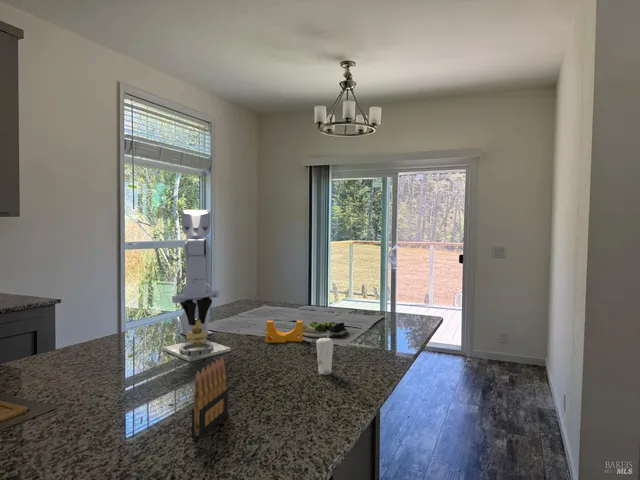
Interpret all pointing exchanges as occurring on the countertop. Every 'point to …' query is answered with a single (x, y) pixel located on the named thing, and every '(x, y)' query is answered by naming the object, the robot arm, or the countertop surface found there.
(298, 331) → the pipe clamp
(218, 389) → the ammunition clip
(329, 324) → the salad plate
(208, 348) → the carrier
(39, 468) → the countertop surface
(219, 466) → the countertop surface
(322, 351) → the milkshake
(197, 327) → the flanged cylinder knob
